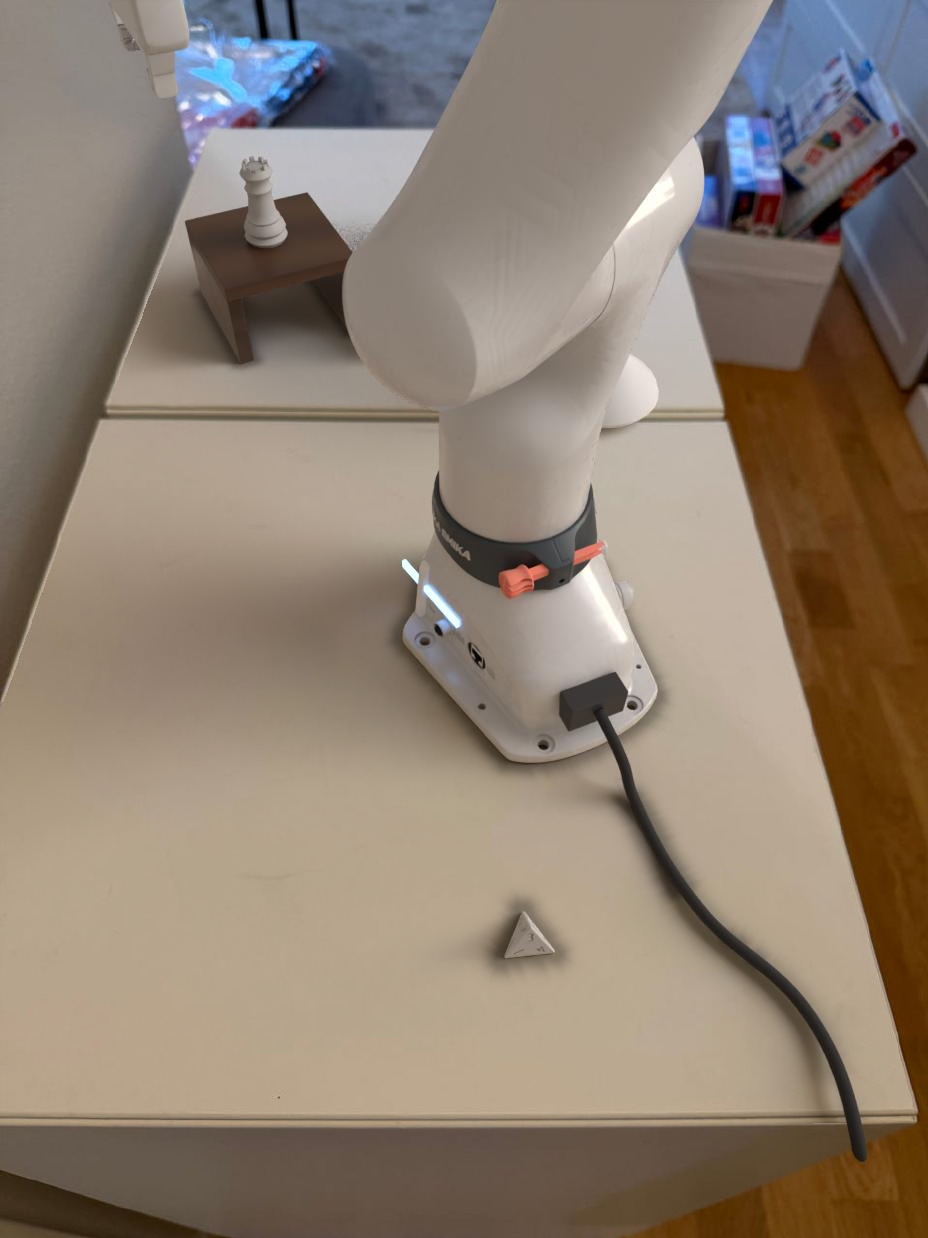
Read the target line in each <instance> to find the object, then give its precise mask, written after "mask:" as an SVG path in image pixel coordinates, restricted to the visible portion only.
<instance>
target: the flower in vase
mask: <svg viewBox="0 0 928 1238" xmlns="http://www.w3.org/2000/svg"><path fill="white" fill-rule="evenodd" d="M658 401H659V387H658V382H657V379H656V377H655V374H654V373H653V372H652V370H651V369H650V368H649V367H648V366H647V365H646V364H645V363H644V362H643V360H641V359H639V357H637V356H635V355H634V354H632V353H630V355H629V357H628V359H627V362H626V364H625V366H624V369H623V371H622V373H621V375H620V378H619V380H618V382H617V385H616V387H615V390H614V392H613V394H612V397H611V400H610V402H609V405H608V408H607V410H606V414H605V417H604V420H603V424H602V427H601V429H615V428H621V427H627V426H630V425H633V424H635V423H637V422H639V421H641V420H642V419H643V418H645V417H646V416H648V415H649V414H650V413H651V412H652V411H653V410H654V409H655V407H656V406H657V403H658Z"/></svg>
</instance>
